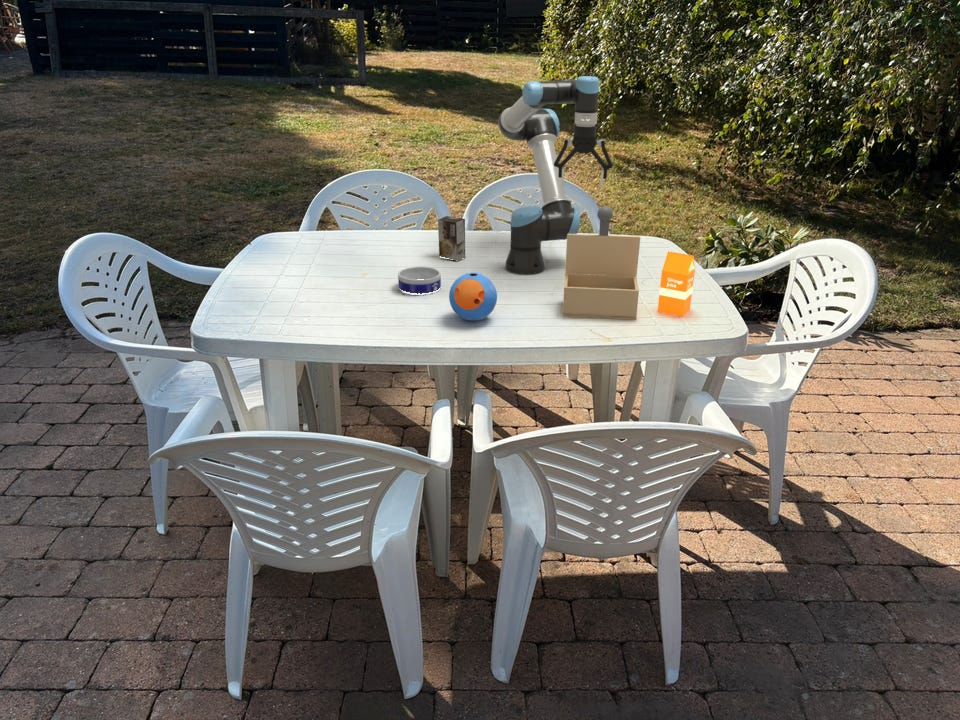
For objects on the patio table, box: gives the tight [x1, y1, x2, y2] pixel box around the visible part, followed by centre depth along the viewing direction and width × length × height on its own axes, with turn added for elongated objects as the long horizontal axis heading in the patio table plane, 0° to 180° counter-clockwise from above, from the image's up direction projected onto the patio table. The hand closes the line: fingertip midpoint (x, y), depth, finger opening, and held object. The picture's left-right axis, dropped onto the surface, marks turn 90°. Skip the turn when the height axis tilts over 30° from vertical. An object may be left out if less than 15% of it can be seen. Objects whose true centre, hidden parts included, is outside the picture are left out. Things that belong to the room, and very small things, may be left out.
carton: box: [562, 273, 640, 321], centre depth 258 cm, size 24×14×10 cm, turn 83°
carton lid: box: [564, 205, 641, 277], centre depth 258 cm, size 24×24×5 cm
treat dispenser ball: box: [448, 272, 498, 322], centre depth 250 cm, size 16×15×15 cm
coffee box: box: [437, 215, 466, 262], centre depth 307 cm, size 9×6×16 cm
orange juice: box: [657, 250, 696, 317], centre depth 256 cm, size 8×9×20 cm
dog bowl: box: [397, 266, 442, 294], centre depth 278 cm, size 15×15×6 cm
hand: (581, 187), depth 271 cm, fingers open, 13 cm apart
